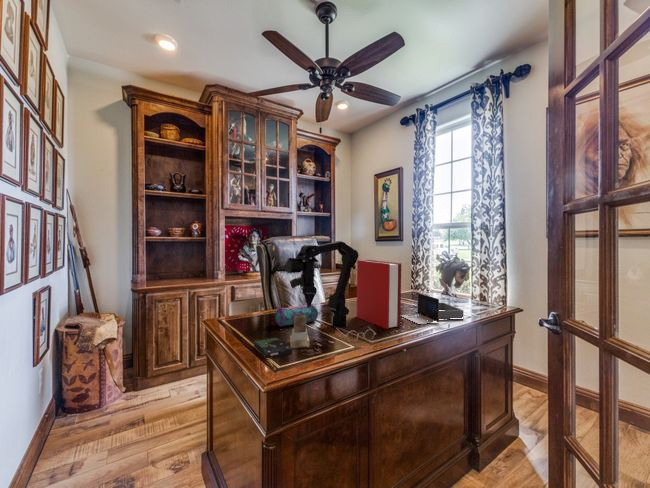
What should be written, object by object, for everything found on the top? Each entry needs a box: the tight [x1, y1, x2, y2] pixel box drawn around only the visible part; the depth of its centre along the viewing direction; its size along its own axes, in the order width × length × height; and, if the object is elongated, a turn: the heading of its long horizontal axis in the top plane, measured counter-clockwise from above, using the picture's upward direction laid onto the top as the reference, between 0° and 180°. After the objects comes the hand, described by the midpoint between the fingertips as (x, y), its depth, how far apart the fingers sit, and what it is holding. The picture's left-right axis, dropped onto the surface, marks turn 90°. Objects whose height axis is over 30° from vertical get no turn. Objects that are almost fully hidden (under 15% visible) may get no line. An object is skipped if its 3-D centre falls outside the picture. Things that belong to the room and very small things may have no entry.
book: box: [356, 259, 402, 330], centre depth 158 cm, size 27×8×32 cm, turn 30°
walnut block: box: [293, 315, 307, 332], centre depth 123 cm, size 4×4×6 cm
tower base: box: [289, 334, 310, 349], centre depth 123 cm, size 8×8×3 cm
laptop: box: [401, 292, 440, 325], centre depth 163 cm, size 18×12×13 cm
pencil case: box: [274, 303, 319, 327], centre depth 153 cm, size 21×9×10 cm, turn 125°
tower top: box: [291, 328, 308, 341], centre depth 123 cm, size 6×6×3 cm
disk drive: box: [253, 336, 293, 359], centre depth 116 cm, size 10×3×15 cm
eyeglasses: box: [333, 323, 377, 342], centre depth 137 cm, size 16×19×5 cm
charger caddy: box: [416, 302, 464, 319], centre depth 173 cm, size 18×21×5 cm
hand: (307, 305), depth 139 cm, fingers open, 9 cm apart
